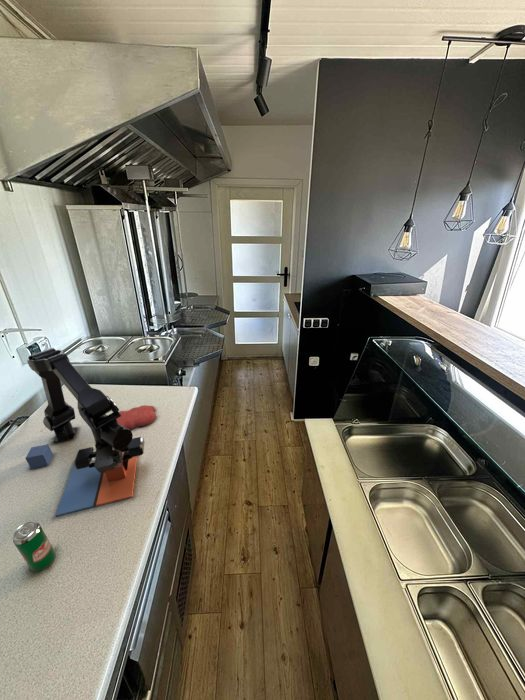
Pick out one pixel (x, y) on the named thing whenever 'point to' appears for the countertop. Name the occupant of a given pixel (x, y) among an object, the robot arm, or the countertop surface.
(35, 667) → the countertop surface
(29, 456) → the slate-blue block
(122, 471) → the terracotta block
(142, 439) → the robot arm
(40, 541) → the soda can
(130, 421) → the red lumpy blob
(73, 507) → the sorting mat
